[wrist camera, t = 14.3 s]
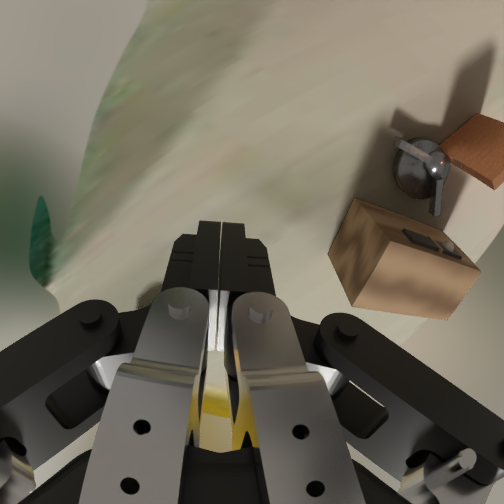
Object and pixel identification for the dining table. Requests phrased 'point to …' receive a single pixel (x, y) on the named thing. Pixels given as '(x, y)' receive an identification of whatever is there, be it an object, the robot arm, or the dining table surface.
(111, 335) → the robot arm
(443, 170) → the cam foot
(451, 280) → the wooden box
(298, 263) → the dining table surface
